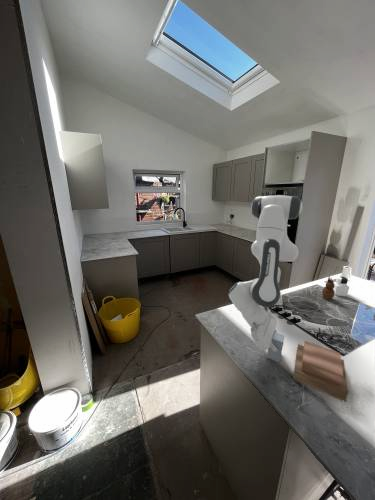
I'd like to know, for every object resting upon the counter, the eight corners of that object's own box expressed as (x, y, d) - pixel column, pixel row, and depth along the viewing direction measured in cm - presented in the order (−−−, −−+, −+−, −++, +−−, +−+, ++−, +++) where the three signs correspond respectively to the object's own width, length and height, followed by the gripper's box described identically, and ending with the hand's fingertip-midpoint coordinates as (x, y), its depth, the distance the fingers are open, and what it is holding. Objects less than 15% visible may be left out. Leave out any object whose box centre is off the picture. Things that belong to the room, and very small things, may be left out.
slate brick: (269, 349, 90) (272, 330, 87) (281, 354, 88) (284, 335, 85) (266, 357, 86) (269, 337, 83) (279, 362, 84) (283, 342, 81)
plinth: (296, 351, 90) (299, 336, 87) (341, 367, 82) (346, 351, 79) (292, 379, 77) (296, 362, 74) (345, 401, 69) (351, 383, 66)
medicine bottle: (341, 291, 143) (345, 275, 139) (346, 296, 136) (351, 280, 133) (330, 290, 144) (334, 274, 141) (334, 295, 138) (338, 279, 134)
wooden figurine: (319, 295, 137) (324, 274, 133) (328, 295, 137) (333, 275, 132) (325, 300, 131) (330, 279, 126) (334, 301, 130) (340, 279, 126)
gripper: (256, 328, 77) (280, 360, 75) (267, 303, 93) (287, 329, 91) (243, 333, 80) (266, 364, 78) (256, 308, 97) (275, 333, 95)
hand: (277, 345), depth 85 cm, fingers closed on slate brick, 5 cm apart
